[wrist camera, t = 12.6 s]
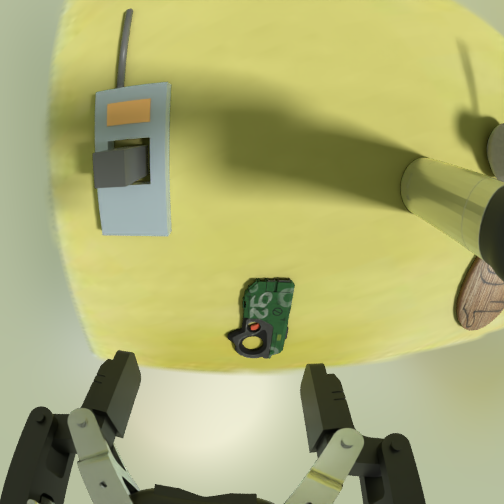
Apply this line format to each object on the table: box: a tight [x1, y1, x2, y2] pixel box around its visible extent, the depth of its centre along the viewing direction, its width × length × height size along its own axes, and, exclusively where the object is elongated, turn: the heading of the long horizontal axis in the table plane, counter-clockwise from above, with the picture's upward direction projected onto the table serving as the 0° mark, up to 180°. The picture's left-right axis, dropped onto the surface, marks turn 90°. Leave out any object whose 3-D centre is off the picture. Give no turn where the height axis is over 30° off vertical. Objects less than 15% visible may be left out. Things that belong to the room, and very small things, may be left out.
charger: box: [93, 145, 149, 188], centre depth 29 cm, size 4×4×8 cm
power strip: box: [95, 9, 171, 236], centre depth 29 cm, size 10×33×2 cm, turn 177°
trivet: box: [456, 256, 504, 330], centre depth 44 cm, size 25×25×2 cm
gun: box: [228, 277, 295, 358], centre depth 44 cm, size 16×2×10 cm
